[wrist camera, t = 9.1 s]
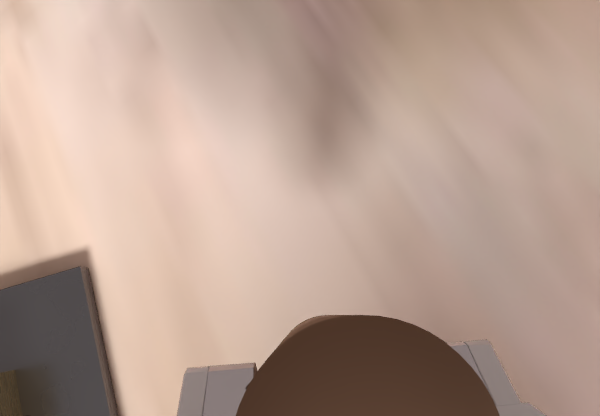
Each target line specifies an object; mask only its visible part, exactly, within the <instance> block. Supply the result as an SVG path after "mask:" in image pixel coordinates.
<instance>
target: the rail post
mask: <svg viewBox="0 0 600 416" xmlns="http://www.w3.org/2000/svg"><path fill="white" fill-rule="evenodd" d="M236 416H500V415H499V413H498V410H497V408H496V405H495V403H494V401H493V399H492V397H491V395H490V393H489V392H488V390H487V388H486V386H485V385H484V383H483V381H482V380H481V379H480V377H479V376H478V375H477V373H476V372H475V371H474V369H473V368H472V367H471V366H470V365H469V364H468V363H467V362H466V360H465V359H464V358H463V357H462V356H461V355H460V354H459V353H458V352H456V351H455V350H454V349H453V348H452V347H450V346H449V345H448V344H447V343H445V342H444V341H443V340H441V339H439V338H438V337H436V336H435V335H433V334H431V333H430V332H428V331H426V330H424V329H422V328H419V327H417V326H415V325H413V324H410V323H407V322H404V321H401V320H397V319H393V318H387V317H382V316H367V315H324V316H317V317H313V318H310V319H308V320H306V321H304V322H302V323H300V324H299V325H297V326H296V327H295V328H294V329H293V330H292V331H291V332H290V333H289V334H288V335H287V337H286V338H285V339H284V340H283V341H282V342H281V344H280V345H279V346H278V347H277V348H276V350H275V351H274V352H273V353H272V354H271V355H270V357H269V358H268V359H267V360H266V361H265V363H264V364H263V365H262V366H261V368H260V369H259V370H258V371H257V373H256V374H255V376H254V377H253V379H252V381H251V382H250V384H249V385H248V387H247V389H246V391H245V393H244V396H243V398H242V400H241V402H240V404H239V407H238V410H237V413H236Z"/></svg>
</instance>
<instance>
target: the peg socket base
mask: <svg viewBox="0 0 600 416" xmlns="http://www.w3.org/2000/svg"><path fill="white" fill-rule="evenodd" d="M0 416H118V412H117V407H116V402H115V397H114V392H113V387H112V382H111V377H110V372H109V368H108V363H107V358H106V353H105V348H104V343H103V338H102V333H101V328H100V323H99V319H98V314H97V309H96V304H95V299H94V294H93V289H92V284H91V279H90V274H89V270H88V268H85V267H81V266H80V267H77V268H73V269H70V270H66V271H63V272H60V273H56V274H53V275H50V276H46V277H43V278H40V279H36V280H33V281H29V282H26V283H23V284H19V285H16V286H13V287H9V288H6V289H2V290H0Z"/></svg>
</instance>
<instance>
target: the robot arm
mask: <svg viewBox="0 0 600 416" xmlns="http://www.w3.org/2000/svg"><path fill="white" fill-rule="evenodd" d="M447 344H448V345H449V346H450V347H452V348H453V349H454V350H455V351H456V352H458V353H459V354H460V355H461V356H462V357H463V358H464V359H465V360H466V362H467V363H468V364H469V365H470V366H471V367H472V368H473V369H474V371H475V372H476V373H477V375H478V376H479V377H480V379H481V380H482V381H483V383H484V385H485V386H486V388H487V390H488V392H489V393H490V395H491V397H492V399H493V401H494V403H495V405H496V408H497V410H498V413H499V415H500V416H547V415H545V414H544V413H543V412H541V411H540V410H538V409H537V408H536V407H534V406H533V405H532V404H530V403H522V402H521V400H520V398H519V397H518V395H517V393H516V391H515V389H514V387H513V385H512V383H511V381H510V379H509V377H508V375H507V374H506V372H505V370H504V368H503V366H502V364H501V362H500V360H499V358H498V356H497V354H496V352H495V351H494V349H493V347H492V345H491V343H490V342H489V341H488V340H487V339H485V340H475V341H465V342H462V341H460V342H451V343H447ZM256 373H257V368H256V363H245V364H230V365H216V366H205V367H193V368H187V370H186V372H185V374H184V378H183V384H182V389H181V395H180V401H179V406H178V412H177V416H236V413H237V410H238V407H239V404H240V402H241V400H242V398H243V396H244V393H245V391H246V389H247V387H248V385H249V384H250V382H251V381H252V379H253V377H254V376H255V374H256Z"/></svg>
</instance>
